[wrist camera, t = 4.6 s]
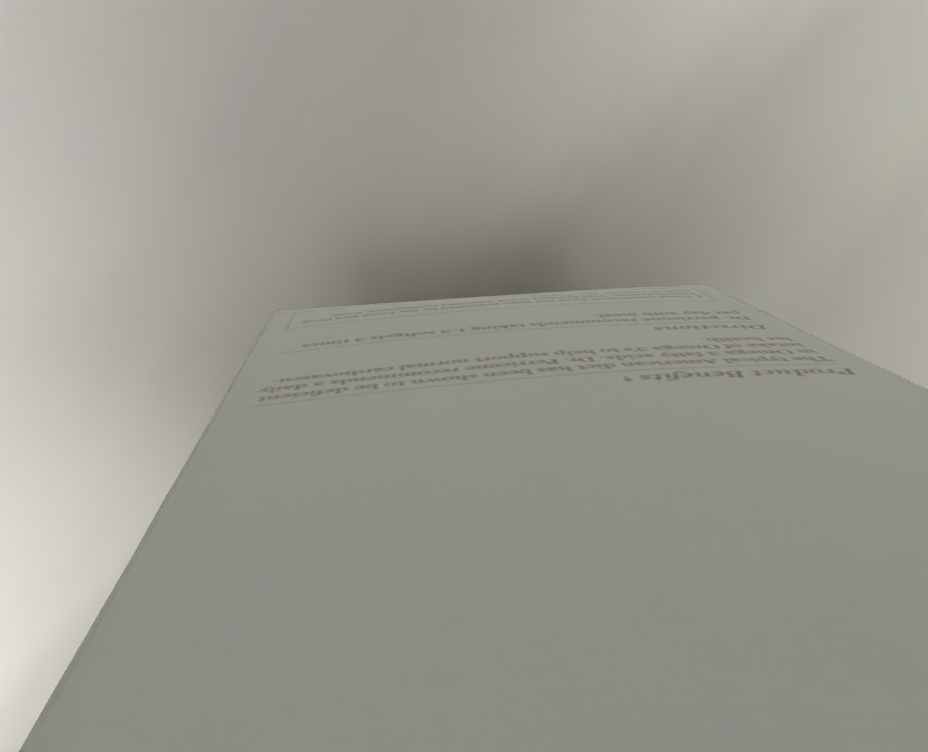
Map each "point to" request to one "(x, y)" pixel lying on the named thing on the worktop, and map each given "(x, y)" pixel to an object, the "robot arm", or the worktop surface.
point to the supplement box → (528, 542)
